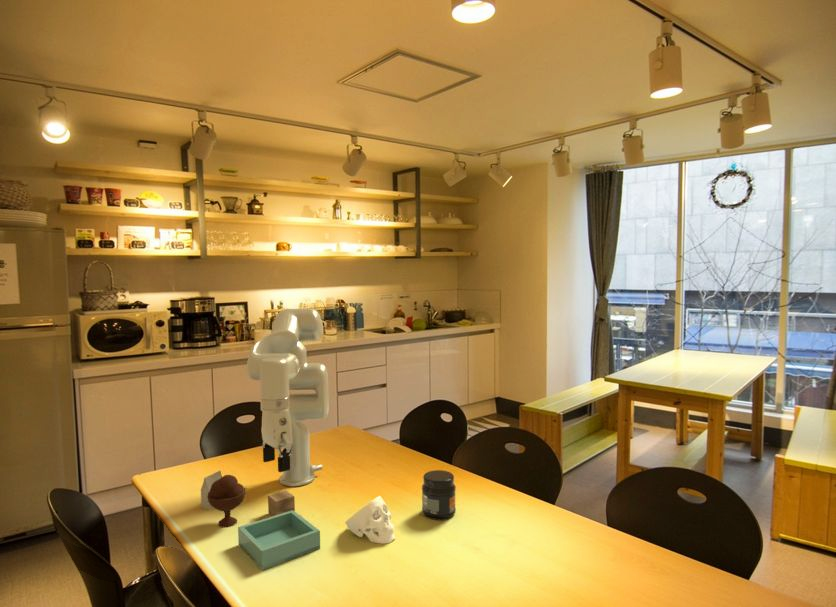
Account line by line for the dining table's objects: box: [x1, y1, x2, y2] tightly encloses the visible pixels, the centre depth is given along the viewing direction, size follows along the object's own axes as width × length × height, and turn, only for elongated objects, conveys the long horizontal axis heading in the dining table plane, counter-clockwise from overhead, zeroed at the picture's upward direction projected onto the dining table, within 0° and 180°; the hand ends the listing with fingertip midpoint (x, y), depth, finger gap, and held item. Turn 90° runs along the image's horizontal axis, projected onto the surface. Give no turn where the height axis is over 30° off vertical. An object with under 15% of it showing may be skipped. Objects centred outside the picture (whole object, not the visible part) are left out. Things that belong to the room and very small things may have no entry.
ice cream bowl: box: [207, 474, 247, 528], centre depth 158 cm, size 11×11×15 cm
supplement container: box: [421, 469, 457, 521], centre depth 164 cm, size 10×10×12 cm
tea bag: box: [200, 470, 223, 510], centre depth 171 cm, size 4×7×10 cm, turn 158°
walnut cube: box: [267, 489, 296, 517], centre depth 164 cm, size 6×6×6 cm
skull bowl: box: [345, 495, 396, 545], centre depth 151 cm, size 10×14×12 cm
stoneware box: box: [237, 510, 321, 571], centre depth 144 cm, size 16×16×5 cm
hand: (276, 465), depth 143 cm, fingers open, 9 cm apart
